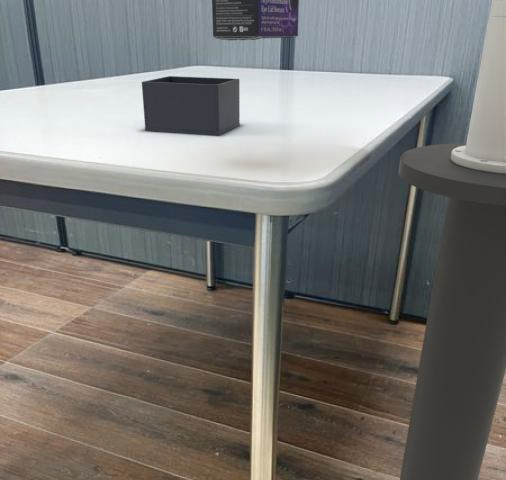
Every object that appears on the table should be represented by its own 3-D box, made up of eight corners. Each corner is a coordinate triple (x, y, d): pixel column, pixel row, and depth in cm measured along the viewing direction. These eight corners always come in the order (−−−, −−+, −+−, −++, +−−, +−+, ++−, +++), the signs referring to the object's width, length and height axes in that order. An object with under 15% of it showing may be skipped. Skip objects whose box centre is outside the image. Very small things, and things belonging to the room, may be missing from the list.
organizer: (239, 125, 90) (239, 78, 87) (219, 135, 82) (218, 85, 79) (171, 121, 92) (168, 76, 89) (145, 130, 85) (141, 81, 82)
